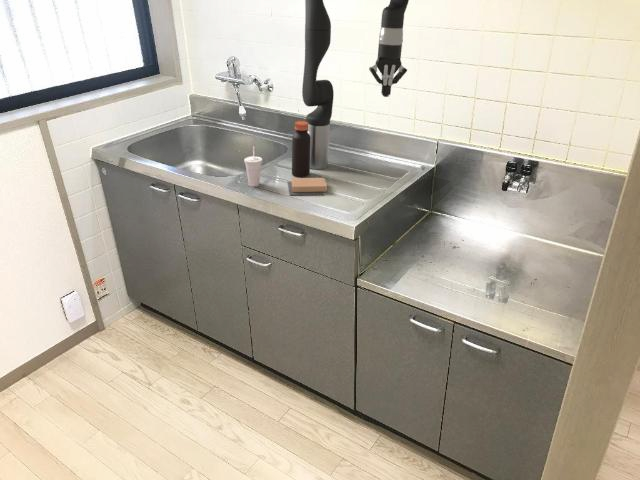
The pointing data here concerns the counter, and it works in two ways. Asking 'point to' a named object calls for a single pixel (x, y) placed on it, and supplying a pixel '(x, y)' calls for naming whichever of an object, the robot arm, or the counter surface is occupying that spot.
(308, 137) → the bottle
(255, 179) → the smoothie
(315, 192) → the mat
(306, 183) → the tile
